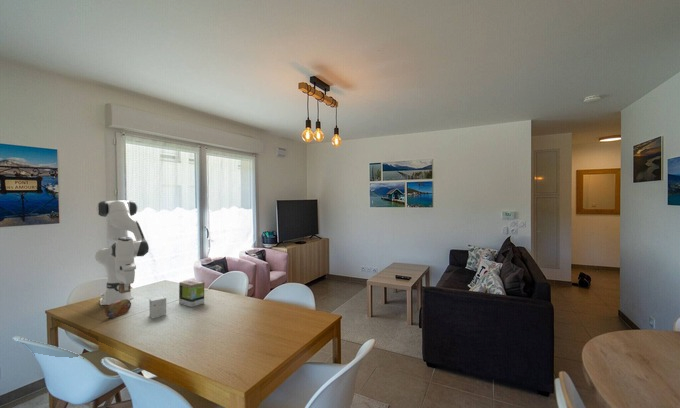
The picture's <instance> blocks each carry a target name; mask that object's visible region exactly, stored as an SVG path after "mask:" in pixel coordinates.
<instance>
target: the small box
mask: <svg viewBox="0 0 680 408" xmlns="http://www.w3.org/2000/svg"><path fill="white" fill-rule="evenodd" d="M166 315H167V297H166V296H165V295H161V296H157V297H152V298H150V299H149V317H150V318H151V319H155V318H158V317H159V318H160V317H161V316H166Z"/></svg>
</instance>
